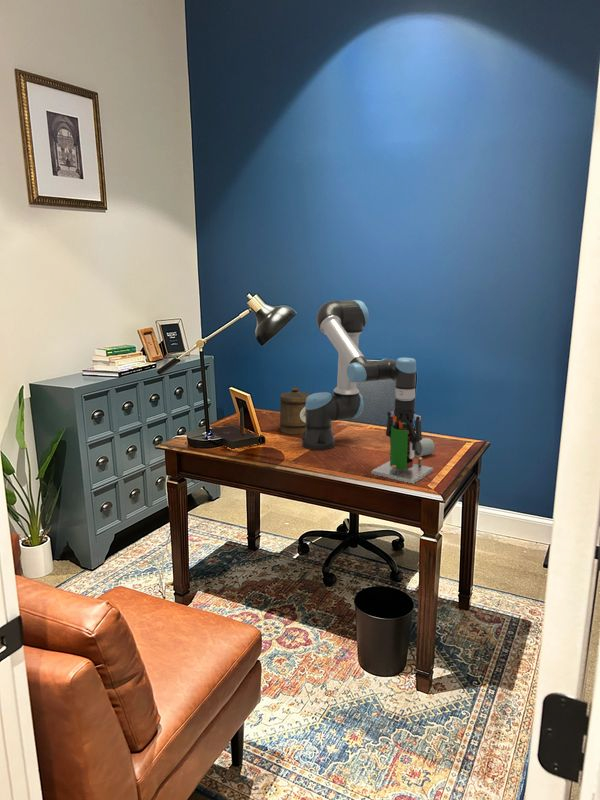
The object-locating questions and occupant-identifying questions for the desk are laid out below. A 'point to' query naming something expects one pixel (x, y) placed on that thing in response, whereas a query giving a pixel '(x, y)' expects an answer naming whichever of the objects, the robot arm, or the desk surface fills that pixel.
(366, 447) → the desk surface
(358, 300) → the robot arm
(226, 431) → the diary
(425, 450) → the ceramic mug
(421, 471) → the mounting plate
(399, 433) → the motor
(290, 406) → the wooden container
